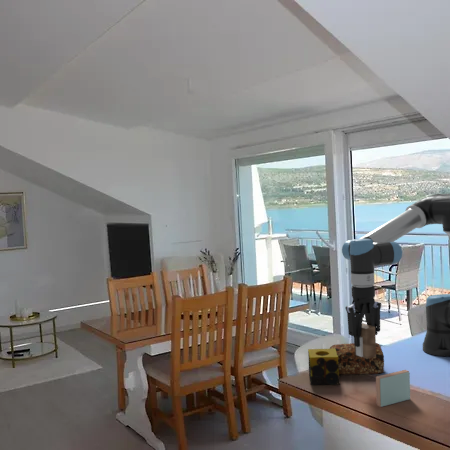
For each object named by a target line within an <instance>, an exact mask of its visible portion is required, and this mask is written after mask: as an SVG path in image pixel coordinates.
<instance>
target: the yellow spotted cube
mask: <svg viewBox="0 0 450 450" xmlns="http://www.w3.org/2000/svg"><path fill="white" fill-rule="evenodd" d="M307 354H308V373H309V374H308V376H309V382H310V385H311V386H318V385H319V386H323V385H324V386H328V385H329V386H331V385H332V386H333V385H337V386H338V385H340V374H339V372H338V367H339V366H338V355H337V353H336V349H335V348H334V349H330V348H309V349H308V350H307Z"/></svg>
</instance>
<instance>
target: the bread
mask: <svg viewBox="0 0 450 450" xmlns="http://www.w3.org/2000/svg"><path fill="white" fill-rule="evenodd" d="M334 348H335V349H336V353H337V355H338V366H339V367H338V372H339V375H365V374H367V375H375V374H376V375H377V374H383V373H384V369H385V356H384V353H383V350H382V346H381V345H380V343H377V342H376V357H373V358H368V359H366V358H363V357H360V356H358V355H356V354H355V347H354V342H353V343H339V344H333V345H331V346H330V347H329V349H334Z"/></svg>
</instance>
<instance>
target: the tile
mask: <svg viewBox="0 0 450 450" xmlns="http://www.w3.org/2000/svg"><path fill="white" fill-rule="evenodd" d="M410 374H411V372H410V370H407V369H403V370H399V371H394V372H390V373H387V374H381V375H377V376H375V394H376V395H375V397H376V398H375V399H376V406H377V407H380V408H381V407H385V406H390V405H393V404H397V403H401V402H405V401H408V400H411V381H410V380H411V378H410V377H411V376H410Z"/></svg>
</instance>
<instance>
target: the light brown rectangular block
mask: <svg viewBox="0 0 450 450" xmlns="http://www.w3.org/2000/svg"><path fill="white" fill-rule="evenodd" d="M360 337H363V358H366V359H368V358H373V357H376V343H377V341H376V338H377V337H376V335H375V327H374V326H370V325H367V323H363V322H362V329H361V336H360ZM354 347H355V354H356V346H355V345H354Z"/></svg>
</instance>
